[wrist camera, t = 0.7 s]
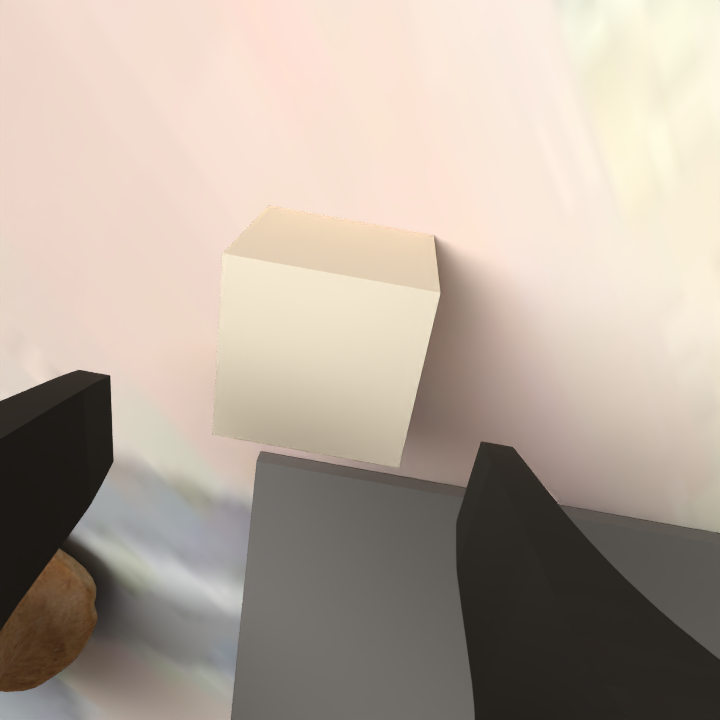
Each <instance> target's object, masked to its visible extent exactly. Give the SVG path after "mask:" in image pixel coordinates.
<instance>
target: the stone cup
mask: <svg viewBox="0 0 720 720" xmlns="http://www.w3.org/2000/svg"><path fill="white" fill-rule="evenodd" d="M95 599H96V586H95V583H94V580H93V578H92V577H91V576H90V574H89V573H88V572H87V570H86V569H85V568H84V567H83V566H82V565H81V564H80V563H79V562H77V561H76V560H75V559H74V558H72V557H71V556H69V555H68V554H67V553H65V552H64V551H62V550H61V549H58V551H57V552H56V553H55V555H54V556H53V558H52V559H51V560H50V562H49V563H48V564H47V566H46V567H45V568H44V570H43V571H42V573H41V574H40V575H39V577H38V578H37V579H36V581H35V582H34V583H33V585H32V586H31V588H30V589H29V590H28V592H27V593H26V594H25V596H24V597H23V598H22V600H21V601H20V603H19V604H18V605H17V607H16V608H15V610H14V611H13V613H12V614H11V616H10V617H9V619H8V620H7V622H6V623H5V625H4V626H3V628H2V630H1V631H0V691H4V692H12V691H25V690H28V689H32V688H35V687H37V686H39V685H41V684H43V683H44V682H46V681H47V680H49V679H50V678H52V677H53V676H55V675H56V674H58V673H59V672H61V671H62V670H63V669H65V668H66V667H67V666H68V665H70V664H71V663H72V662H73V661H74V660H75V659H76V658H77V656H78V655H79V654H80V652H81V651H82V650H83V648H84V647H85V645H86V643H87V642H88V640H89V639H90V637H91V635H92V632H93V630H94V628H95V626H96V623H97V618H98V616H97V612H96V608H95V604H94V602H95Z"/></svg>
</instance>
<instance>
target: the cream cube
mask: <svg viewBox="0 0 720 720" xmlns="http://www.w3.org/2000/svg"><path fill="white" fill-rule="evenodd" d="M440 293H441V292H440V284H439V276H438V267H437V259H436V251H435V243H434V235H430V234H425V233H419V232H413V231H408V230H402V229H397V228H391V227H386V226H380V225H375V224H369V223H364V222H358V221H353V220H347V219H342V218H336V217H331V216H325V215H319V214H314V213H308V212H303V211H297V210H292V209H286V208H281V207H275V206H270V205H269V206H268V207H267V208H266V209H265V210H264V211H263V212H262V213H261V214H260V215H259V216H258V217H257V219H256V220H255V221H254V222H253V223H252V224H251V225H250V226H249V227H248V228H247V229H246V230H245V231H244V232H243V233H242V234H241V235H240V236H239V237H238V238H237V239H236V240H235V241H234V242H233V243H232V244H231V245H230V246H229V247H228V248H227V249H226V250H225V251H224V252H223V255H222V273H221V291H220V309H219V327H218V345H217V363H216V380H215V398H214V416H213V435H218V436H224V437H229V438H235V439H240V440H246V441H252V442H257V443H263V444H268V445H274V446H279V447H285V448H291V449H296V450H302V451H307V452H313V453H318V454H324V455H329V456H335V457H341V458H346V459H352V460H357V461H363V462H368V463H374V464H380V465H385V466H391V467H396V468H399V465H400V460H401V456H402V452H403V448H404V444H405V440H406V435H407V431H408V427H409V423H410V419H411V414H412V410H413V406H414V402H415V398H416V393H417V389H418V385H419V381H420V377H421V373H422V368H423V364H424V360H425V356H426V352H427V347H428V343H429V339H430V335H431V331H432V326H433V322H434V318H435V314H436V310H437V306H438V301H439V297H440Z"/></svg>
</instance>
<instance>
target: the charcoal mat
mask: <svg viewBox="0 0 720 720" xmlns="http://www.w3.org/2000/svg"><path fill="white" fill-rule="evenodd" d="M466 489H467V488H462V487H457V486H451V485H445V484H440V483H434V482H429V481H423V480H417V479H412V478H406V477H401V476H395V475H390V474H384V473H378V472H373V471H367V470H362V469H356V468H351V467H345V466H339V465H334V464H328V463H323V462H317V461H311V460H306V459H300V458H295V457H289V456H284V455H278V454H272V453H267V452H261V451H260V454H259V456H258V459H257V463H256V473H255V483H254V493H253V503H252V513H251V523H250V533H249V543H248V553H247V563H246V573H245V583H244V593H243V603H242V613H241V623H240V633H239V643H238V653H237V663H236V673H235V683H234V693H233V703H232V713H231V720H475V712H474V700H473V690H472V680H471V673H470V666H469V659H468V651H467V644H466V637H465V630H464V623H463V616H462V609H461V601H460V594H459V586H458V578H457V570H456V521H457V518H458V514H459V511H460V508H461V505H462V502H463V498H464V495H465V492H466ZM559 506H560V507H561V508H562V510H563V511H564V512H565V513H566V514H567V516H568V517H569V518H570V519H571V520H572V522H573V523H574V524H575V525H576V526H577V527H578V528H579V530H580V531H581V532H582V533H583V534H584V535H585V536H586V538H587V539H588V540H589V541H590V542H591V543H592V544H593V545H594V546H595V547H596V548H597V549H598V551H599V552H600V553H601V554H602V555H603V556H604V557H605V558H606V559H607V560H608V561H609V562H610V563H611V564H612V565H613V566H614V567H615V568H616V569H617V570H618V571H619V572H620V573H621V574H622V575H623V576H624V577H625V578H626V579H627V580H628V581H629V582H630V583H631V584H632V585H633V586H634V587H635V588H636V589H637V590H638V591H639V592H641V593H642V594H643V595H644V596H645V597H646V598H647V599H648V600H649V601H650V602H651V603H652V604H653V605H655V606H656V607H657V608H658V609H659V610H660V611H661V612H662V613H664V614H665V615H666V616H667V617H668V618H669V619H671V620H672V621H673V622H674V623H675V624H676V625H678V626H679V627H680V628H681V629H682V630H684V631H685V632H686V633H687V634H689V635H690V636H691V637H692V638H694V639H695V640H696V641H697V642H699V643H700V644H701V645H702V646H703V647H705V648H706V649H707V650H708V651H710V652H711V653H712V654H713V655H715V656H716V657H717V658H719V659H720V534H719V533H713V532H708V531H702V530H697V529H691V528H685V527H680V526H674V525H669V524H663V523H657V522H652V521H646V520H641V519H635V518H630V517H624V516H618V515H613V514H607V513H602V512H596V511H591V510H585V509H579V508H574V507H568V506H563V505H559Z"/></svg>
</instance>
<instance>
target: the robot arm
mask: <svg viewBox="0 0 720 720" xmlns="http://www.w3.org/2000/svg"><path fill="white" fill-rule="evenodd" d="M112 463H113V437H112V411H111V384H110V375H104V374H99V373H93V372H88V371H82V370H77V371H74V372H71V373H68V374H65V375H63V376H60V377H57V378H55V379H52V380H50V381H47V382H45V383H43V384H40V385H38V386H35V387H33V388H31V389H28V390H26V391H24V392H21V393H19V394H16V395H14V396H12V397H9V398H7V399H4V400H2V401H0V631H1V630H2V628H3V626H4V625H5V623H6V622H7V620H8V619H9V617H10V616H11V614H12V613H13V611H14V610H15V608H16V607H17V605H18V604H19V603H20V601H21V600H22V598H23V597H24V596H25V594H26V593H27V592H28V590H29V589H30V588H31V586H32V585H33V583H34V582H35V581H36V579H37V578H38V577H39V575H40V574H41V573H42V571H43V570H44V568H45V567H46V566H47V564H48V563H49V562H50V560H51V559H52V558H53V556H54V555H55V553H56V552H57V551H58V549H59V548H60V547H61V545H62V544H63V543H64V541H65V540H66V538H67V537H68V536H69V534H70V533H71V531H72V530H73V529H74V527H75V526H76V525H77V523H78V522H79V520H80V519H81V518H82V516H83V515H84V513H85V512H86V510H87V509H88V508H89V506H90V505H91V503H92V501H93V499H94V497H95V496H96V494H97V492H98V490H99V488H100V487H101V485H102V483H103V481H104V479H105V477H106V475H107V473H108V471H109V469H110V467H111V465H112ZM456 570H457V578H458V586H459V594H460V601H461V609H462V616H463V623H464V630H465V637H466V644H467V651H468V659H469V666H470V673H471V680H472V690H473V700H474V712H475V720H720V659H719V658H717V657H716V656H715V655H713V654H712V653H711V652H710V651H708V650H707V649H706V648H705V647H703V646H702V645H701V644H700V643H699V642H697V641H696V640H695V639H694V638H692V637H691V636H690V635H689V634H687V633H686V632H685V631H684V630H682V629H681V628H680V627H679V626H678V625H676V624H675V623H674V622H673V621H672V620H671V619H669V618H668V617H667V616H666V615H665V614H664V613H662V612H661V611H660V610H659V609H658V608H657V607H656V606H655V605H653V604H652V603H651V602H650V601H649V600H648V599H647V598H646V597H645V596H644V595H643V594H642V593H641V592H639V591H638V590H637V589H636V588H635V587H634V586H633V585H632V584H631V583H630V582H629V581H628V580H627V579H626V578H625V577H624V576H623V575H622V574H621V573H620V572H619V571H618V570H617V569H616V568H615V567H614V566H613V565H612V564H611V563H610V562H609V561H608V560H607V559H606V558H605V557H604V556H603V555H602V554H601V553H600V552H599V551H598V549H597V548H596V547H595V546H594V545H593V544H592V543H591V542H590V541H589V540H588V539H587V538H586V536H585V535H584V534H583V533H582V532H581V531H580V530H579V528H578V527H577V526H576V525H575V524H574V523H573V522H572V520H571V519H570V518H569V517H568V516H567V514H566V513H565V512H564V511H563V510H562V508H561V507H560V506H559V505H558V504H557V502H556V501H555V500H554V499H553V497H552V496H551V495H550V494H549V492H548V491H547V490H546V489H545V487H544V486H543V485H542V483H541V482H540V481H539V480H538V478H537V477H536V476H535V475H534V473H533V472H532V471H531V469H530V468H529V467H528V466H527V464H526V463H525V462H524V460H523V459H522V458H521V457H520V455H519V454H518V453H517V452H516V451H515V449H514V448H513V447H509V446H504V445H498V444H493V443H487V442H481V444H480V447H479V450H478V453H477V456H476V460H475V463H474V466H473V469H472V473H471V476H470V479H469V482H468V485H467V489H466V492H465V495H464V498H463V502H462V505H461V508H460V511H459V514H458V518H457V521H456Z"/></svg>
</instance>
